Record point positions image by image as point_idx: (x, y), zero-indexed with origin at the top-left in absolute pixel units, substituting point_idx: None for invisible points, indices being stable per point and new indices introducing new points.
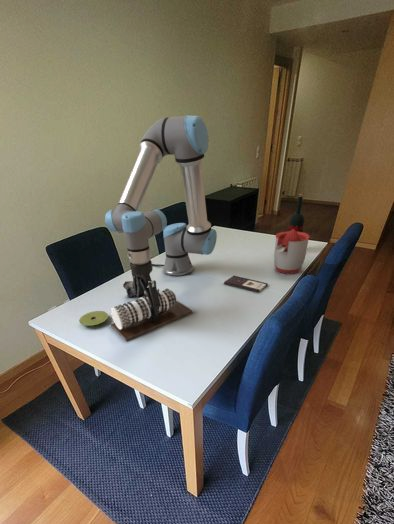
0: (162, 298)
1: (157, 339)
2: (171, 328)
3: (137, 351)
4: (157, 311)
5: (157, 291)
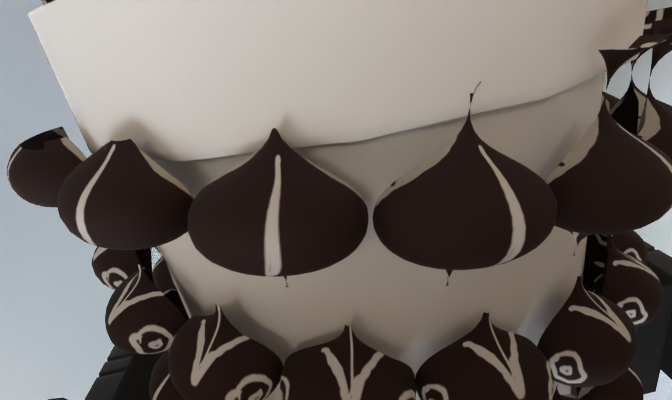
0: (653, 99)
1: (663, 246)
2: (625, 71)
3: (664, 385)
4: (654, 259)
5: (337, 214)
